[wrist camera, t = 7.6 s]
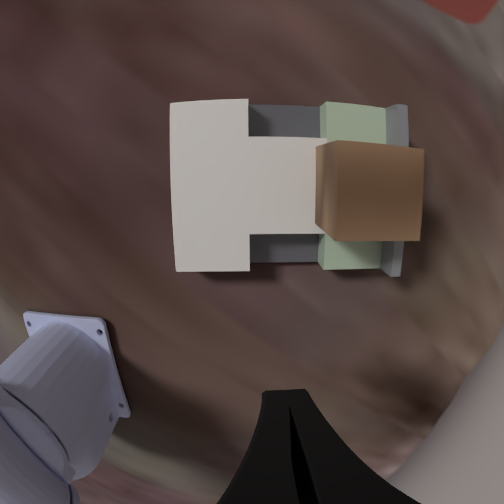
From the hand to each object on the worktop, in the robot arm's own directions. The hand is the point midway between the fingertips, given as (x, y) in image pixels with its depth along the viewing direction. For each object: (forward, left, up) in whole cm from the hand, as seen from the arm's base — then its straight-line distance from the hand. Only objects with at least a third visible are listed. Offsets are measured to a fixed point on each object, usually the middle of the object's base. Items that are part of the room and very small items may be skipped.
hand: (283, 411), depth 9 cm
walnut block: (+6, -4, -8) cm, 11 cm away
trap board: (+6, -1, -10) cm, 12 cm away
